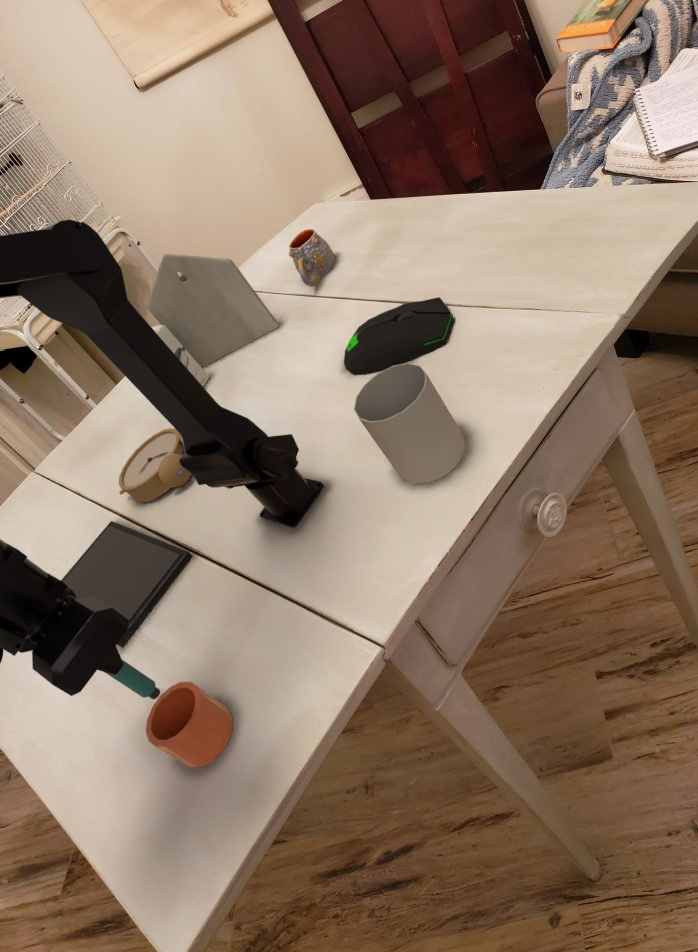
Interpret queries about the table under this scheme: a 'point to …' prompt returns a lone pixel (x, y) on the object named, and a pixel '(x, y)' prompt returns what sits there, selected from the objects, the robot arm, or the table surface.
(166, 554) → the tablet
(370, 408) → the cup
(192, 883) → the table surface
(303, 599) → the table surface
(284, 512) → the robot arm
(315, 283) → the mug
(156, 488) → the alarm clock
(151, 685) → the stylus
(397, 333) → the computer mouse
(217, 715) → the pen pot
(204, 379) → the ink box
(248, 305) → the grey house-shaped block
